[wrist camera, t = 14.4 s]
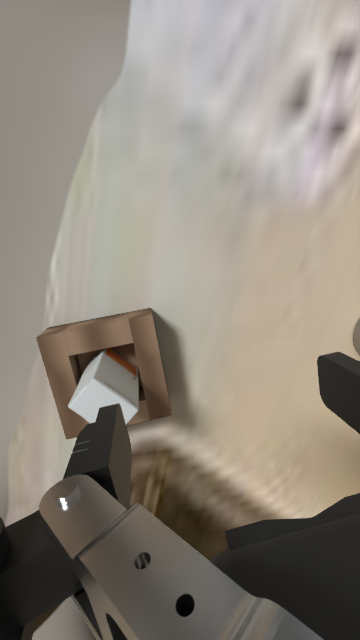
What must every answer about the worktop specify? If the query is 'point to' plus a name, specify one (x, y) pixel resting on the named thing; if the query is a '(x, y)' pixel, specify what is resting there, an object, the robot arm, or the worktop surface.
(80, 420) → the holder
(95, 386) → the skincare box
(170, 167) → the worktop surface
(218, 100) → the worktop surface
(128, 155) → the worktop surface
